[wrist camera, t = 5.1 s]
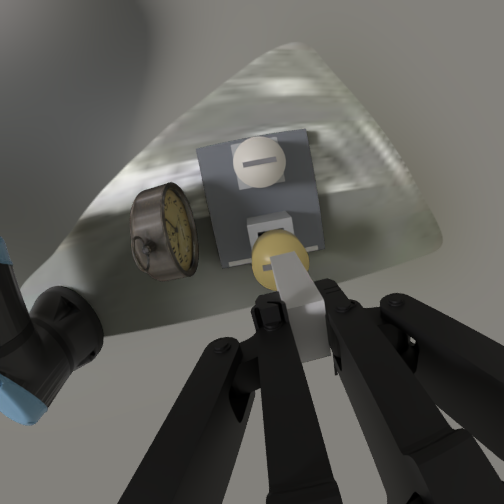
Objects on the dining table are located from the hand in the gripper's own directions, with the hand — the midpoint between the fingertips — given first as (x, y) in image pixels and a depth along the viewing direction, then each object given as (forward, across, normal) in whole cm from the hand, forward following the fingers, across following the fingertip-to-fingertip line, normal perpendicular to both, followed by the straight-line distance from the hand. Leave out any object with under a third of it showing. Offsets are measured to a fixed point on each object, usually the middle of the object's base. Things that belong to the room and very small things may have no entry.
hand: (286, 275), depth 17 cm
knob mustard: (+16, 0, -2) cm, 16 cm away
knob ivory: (+20, +1, +7) cm, 21 cm away
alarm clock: (+23, -12, +2) cm, 25 cm away
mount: (+22, 0, +2) cm, 22 cm away
